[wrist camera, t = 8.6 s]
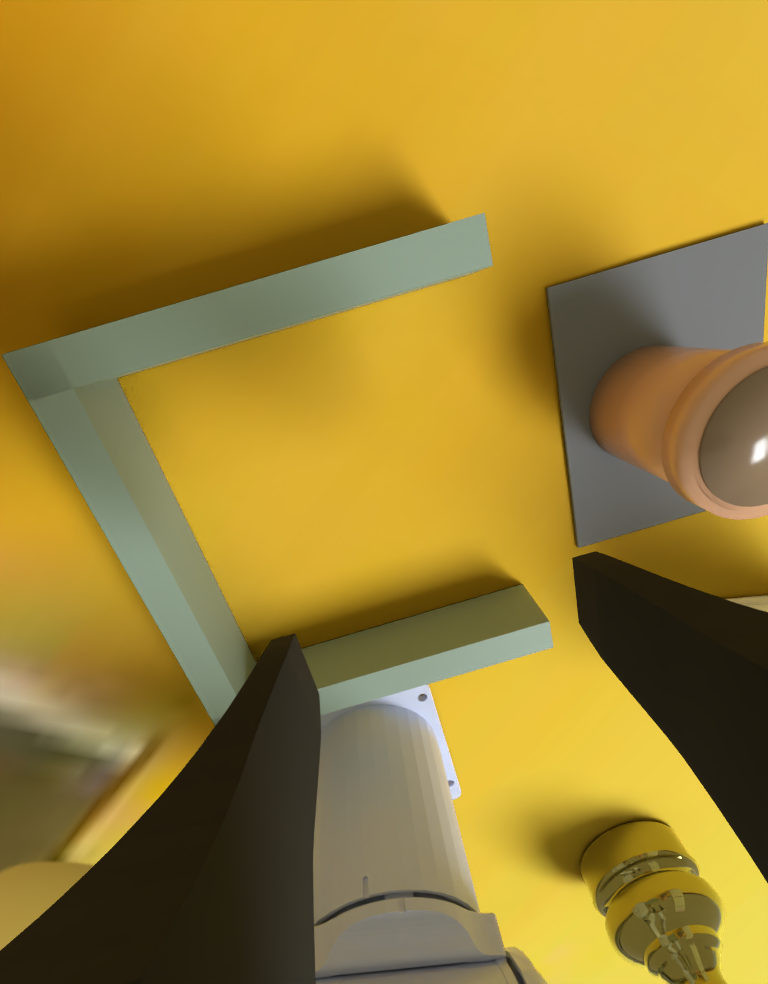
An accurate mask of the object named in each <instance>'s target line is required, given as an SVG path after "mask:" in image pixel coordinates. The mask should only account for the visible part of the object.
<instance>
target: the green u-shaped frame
mask: <svg viewBox="0 0 768 984" xmlns="http://www.w3.org/2000/svg"><path fill="white" fill-rule="evenodd" d="M490 266H493V263H492V256H491V250H490V244H489V238H488V231H487V225H486V219H485V213H482V214H479V215H475V216H472V217H469V218H465V219H462V220H458V221H455V222H451V223H448V224H445V225H441V226H438V227H434V228H431V229H428V230H424V231H421V232H417V233H414V234H411V235H407V236H404V237H400V238H397V239H394V240H390V241H387V242H383V243H380V244H377V245H373V246H370V247H366V248H363V249H359V250H356V251H353V252H349V253H346V254H342V255H339V256H336V257H332V258H329V259H325V260H322V261H319V262H315V263H312V264H308V265H305V266H302V267H298V268H295V269H291V270H288V271H285V272H281V273H278V274H274V275H271V276H268V277H264V278H261V279H257V280H254V281H250V282H247V283H244V284H240V285H237V286H233V287H230V288H227V289H223V290H220V291H216V292H213V293H210V294H206V295H203V296H199V297H196V298H193V299H189V300H186V301H182V302H179V303H176V304H172V305H169V306H165V307H162V308H159V309H155V310H152V311H148V312H145V313H141V314H138V315H135V316H131V317H128V318H124V319H121V320H118V321H114V322H111V323H107V324H104V325H101V326H97V327H94V328H90V329H87V330H84V331H80V332H77V333H73V334H70V335H67V336H63V337H60V338H56V339H53V340H50V341H46V342H43V343H39V344H36V345H32V346H29V347H26V348H22V349H19V350H15V351H12V352H9V353H5V354H2V357H3V358H4V360H5V362H6V363H7V365H8V367H9V369H10V370H11V372H12V374H13V376H14V377H15V379H16V381H17V383H18V384H19V386H20V388H21V389H22V391H23V393H24V395H25V396H26V398H27V400H28V402H29V403H30V405H31V407H32V409H33V410H34V412H35V414H36V416H37V417H38V419H39V421H40V422H41V424H42V426H43V428H44V429H45V431H46V433H47V435H48V436H49V438H50V440H51V442H52V443H53V445H54V447H55V449H56V450H57V452H58V454H59V455H60V457H61V459H62V461H63V462H64V464H65V466H66V468H67V469H68V471H69V473H70V475H71V476H72V478H73V480H74V482H75V483H76V485H77V487H78V488H79V490H80V492H81V494H82V495H83V497H84V499H85V501H86V502H87V504H88V506H89V508H90V509H91V511H92V513H93V514H94V516H95V518H96V520H97V521H98V523H99V525H100V527H101V528H102V530H103V532H104V534H105V535H106V537H107V539H108V541H109V542H110V544H111V546H112V547H113V549H114V551H115V553H116V554H117V556H118V558H119V560H120V561H121V563H122V565H123V567H124V568H125V570H126V572H127V574H128V575H129V577H130V579H131V580H132V582H133V584H134V586H135V587H136V589H137V591H138V593H139V594H140V596H141V598H142V600H143V601H144V603H145V605H146V607H147V608H148V610H149V612H150V613H151V615H152V617H153V619H154V620H155V622H156V624H157V626H158V627H159V629H160V631H161V633H162V634H163V636H164V638H165V640H166V641H167V643H168V645H169V646H170V648H171V650H172V652H173V653H174V655H175V657H176V659H177V660H178V662H179V664H180V666H181V667H182V669H183V671H184V672H185V674H186V676H187V678H188V679H189V681H190V683H191V685H192V686H193V688H194V690H195V692H196V693H197V695H198V697H199V699H200V700H201V702H202V704H203V705H204V707H205V709H206V711H207V712H208V714H209V716H210V718H211V719H212V721H213V723H214V725H215V726H216V724H217V723H218V722H219V720H220V719H221V717H222V716H223V715H224V713H225V712H226V710H227V709H228V708H229V706H230V705H231V703H232V701H233V700H234V698H235V697H236V695H237V694H238V692H239V691H240V689H241V688H242V686H243V685H244V683H245V681H246V680H247V678H248V677H249V675H250V673H251V672H252V670H253V669H254V667H255V665H256V664H257V662H256V661H255V659H254V657H253V655H252V653H251V651H250V649H249V647H248V645H247V643H246V641H245V639H244V637H243V635H242V633H241V631H240V628H239V626H238V624H237V622H236V620H235V618H234V616H233V614H232V612H231V610H230V608H229V606H228V604H227V602H226V600H225V598H224V596H223V594H222V592H221V590H220V588H219V586H218V584H217V582H216V580H215V578H214V575H213V573H212V571H211V569H210V567H209V565H208V563H207V561H206V559H205V557H204V555H203V553H202V551H201V549H200V547H199V545H198V543H197V541H196V539H195V537H194V535H193V533H192V531H191V529H190V527H189V524H188V522H187V520H186V518H185V516H184V514H183V512H182V510H181V508H180V506H179V504H178V502H177V500H176V498H175V496H174V494H173V492H172V490H171V488H170V486H169V484H168V482H167V480H166V478H165V476H164V473H163V471H162V469H161V467H160V465H159V463H158V461H157V459H156V457H155V455H154V453H153V451H152V449H151V447H150V445H149V443H148V441H147V439H146V437H145V435H144V433H143V431H142V429H141V427H140V425H139V422H138V420H137V418H136V416H135V414H134V412H133V410H132V408H131V406H130V404H129V402H128V400H127V398H126V396H125V394H124V392H123V390H122V388H121V386H120V384H119V382H118V380H117V378H119V377H123V376H126V375H129V374H133V373H136V372H140V371H143V370H146V369H150V368H153V367H157V366H160V365H163V364H167V363H170V362H174V361H177V360H181V359H184V358H187V357H191V356H194V355H198V354H201V353H204V352H208V351H211V350H215V349H218V348H221V347H225V346H228V345H232V344H235V343H238V342H242V341H245V340H249V339H252V338H255V337H259V336H262V335H266V334H269V333H273V332H276V331H279V330H283V329H286V328H290V327H293V326H296V325H300V324H303V323H307V322H310V321H313V320H317V319H320V318H324V317H327V316H330V315H334V314H337V313H341V312H344V311H347V310H351V309H354V308H358V307H361V306H365V305H368V304H371V303H375V302H378V301H382V300H385V299H388V298H392V297H395V296H399V295H402V294H405V293H409V292H412V291H416V290H419V289H422V288H426V287H429V286H433V285H436V284H439V283H443V282H446V281H450V280H453V279H457V278H460V277H463V276H467V275H469V274H472V273H475V272H477V271H480V270H482V269H485V268H488V267H490ZM549 648H553V641H552V635H551V629H550V622H549V620H548V619H547V617H546V616H545V615H544V613H543V612H542V610H541V609H540V608H539V606H538V605H537V604H536V602H535V601H534V599H533V598H532V597H531V595H530V594H529V592H528V591H527V590H526V588H525V587H524V586H523V584H521V585H518V586H514V587H511V588H507V589H504V590H501V591H497V592H494V593H490V594H487V595H484V596H480V597H477V598H473V599H470V600H467V601H463V602H460V603H456V604H453V605H449V606H446V607H443V608H439V609H436V610H432V611H429V612H426V613H422V614H419V615H415V616H412V617H408V618H405V619H402V620H398V621H395V622H391V623H388V624H385V625H381V626H378V627H374V628H371V629H367V630H364V631H361V632H357V633H354V634H350V635H347V636H344V637H340V638H337V639H333V640H330V641H326V642H323V643H320V644H316V645H313V646H309V647H306V648H303V649H302V652H303V654H304V657H305V659H306V662H307V664H308V667H309V669H310V672H311V674H312V677H313V679H314V682H315V684H316V687H317V690H318V692H319V697H320V715H324V714H327V713H331V712H334V711H338V710H341V709H344V708H348V707H351V706H355V705H358V704H361V703H365V702H368V701H372V700H375V699H379V698H382V697H385V696H389V695H392V694H396V693H399V692H402V691H406V690H409V689H413V688H416V687H420V686H423V685H426V684H430V683H433V682H437V681H440V680H443V679H447V678H450V677H454V676H457V675H461V674H464V673H467V672H471V671H474V670H478V669H481V668H484V667H488V666H491V665H495V664H498V663H502V662H505V661H508V660H512V659H515V658H519V657H522V656H525V655H529V654H532V653H536V652H539V651H543V650H546V649H549Z"/></svg>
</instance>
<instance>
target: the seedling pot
mask: <svg viewBox="0 0 768 984" xmlns="http://www.w3.org/2000/svg"><path fill="white" fill-rule="evenodd" d="M589 420H590V427H591V431H592V434H593V436H594V438H595V440H596V442H597V443H598V445H599V446H600V447H601V448H602V449H603V450H604V451H606V452H607V453H608V454H610V455H612V456H614V457H616V458H618V459H620V460H622V461H624V462H627V463H629V464H631V465H633V466H635V467H637V468H639V469H641V470H644V471H646V472H648V473H650V474H652V475H654V476H656V477H658V478H661V479H663V480H665V481H667V482H669V483H670V485H671V486H672V488H673V489H674V490H675V491H676V492H677V493H678V494H679V495H680V496H681V497H683V498H684V499H685V500H687V501H689V502H691V503H693V504H695V505H697V506H699V507H701V508H703V509H705V510H707V511H709V512H711V513H713V514H715V515H717V516H720V517H723V518H729V519H753V518H758V517H762V516H766V515H768V342H757V343H752V344H748V345H744V346H741V347H739V348H736V349H733V350H728V349H712V348H696V347H679V346H663V345H652V346H646V347H641V348H639V349H636V350H633V351H631V352H629V353H627V354H626V355H624V356H623V357H621V358H620V359H619V360H617V361H616V362H615V363H614V364H613V365H612V366H611V367H610V368H609V369H608V370H607V371H606V373H605V374H604V375H603V376H602V378H601V380H600V381H599V383H598V385H597V387H596V389H595V391H594V394H593V397H592V400H591V404H590V412H589Z"/></svg>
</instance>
